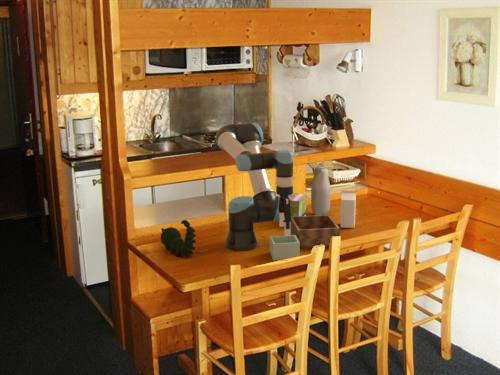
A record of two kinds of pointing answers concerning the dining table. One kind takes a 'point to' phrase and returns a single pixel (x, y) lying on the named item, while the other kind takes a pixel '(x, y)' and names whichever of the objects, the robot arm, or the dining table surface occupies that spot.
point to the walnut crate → (314, 230)
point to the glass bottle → (320, 191)
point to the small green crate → (284, 247)
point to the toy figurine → (178, 240)
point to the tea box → (297, 204)
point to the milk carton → (348, 209)
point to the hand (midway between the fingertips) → (284, 231)
